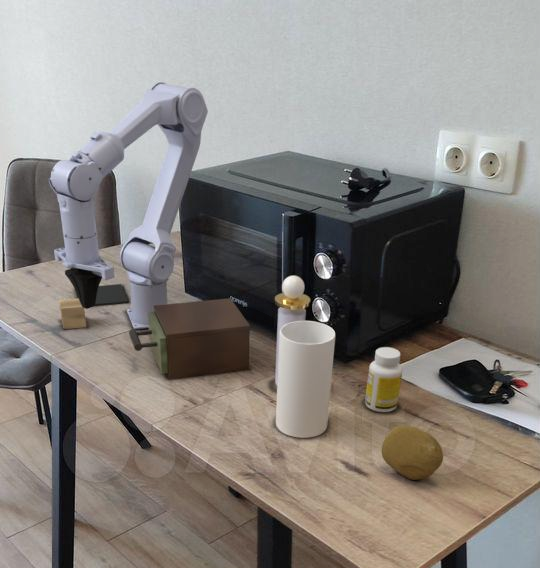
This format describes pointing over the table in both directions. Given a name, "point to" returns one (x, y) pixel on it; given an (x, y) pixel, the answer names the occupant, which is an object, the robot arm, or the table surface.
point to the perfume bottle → (290, 307)
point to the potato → (412, 452)
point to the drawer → (153, 341)
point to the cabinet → (204, 337)
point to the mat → (110, 295)
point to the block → (72, 314)
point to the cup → (304, 378)
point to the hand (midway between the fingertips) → (88, 306)
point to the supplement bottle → (384, 380)
